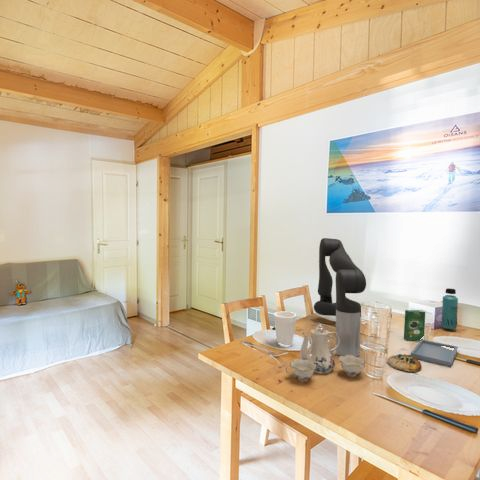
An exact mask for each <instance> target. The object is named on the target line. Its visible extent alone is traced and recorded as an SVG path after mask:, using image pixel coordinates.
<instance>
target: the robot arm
mask: <svg viewBox="0 0 480 480" xmlns="http://www.w3.org/2000/svg"><path fill="white" fill-rule="evenodd" d="M318 250H319V251H318V260H319V261H318V269H319V270H318V274H319V275H318V287H317V294H318V295H319V300H318V301H315V303H314V304H313V311H314V312H315V313H316V314H318V315H321V316H327V317H329V316H330V317H332V316H333V317H335V333H337V334H338V335H339V336H340V339H341V342H340V345H339V347H338V348H337V349H335V350H336V354H335V356H336V355H338V356H346V355H353V356H355V357H360V354H361V321H360V317H361V306H362V305H361V304H360V303H359V302H358V301H355V300H352V299H350V298H349V297H347V296H346V294H361V293H363V292H364V291H365V289H366V288H367V281H366V280H367V279H366V275H365V274H364V272H363V271H362V269H361V268H359V267H358V266H357V265H356V264H355V262H353V260H352V258H351V257H350V255H349V253H348V252H347V251H346V249H345V247H344V244H343V243H342V241H341V240H340V239H337V238H330V237H329V238H328V237H327V238H326V237H324V238H322V239H321V240H320V242H319V247H318ZM326 257H329V259H328V261H329V265H330V267H331V269H332V271H333V272H334V273H336V274H335V302H333V297H332V296H333V295H332V291H333V285H334V284H333V282H334V281H333V277H332V274H331V272H330V269H329V268H328V265H327V261H326ZM390 314H391V319H392V317H393V314H392V313H390ZM337 344H338V336H337V335H336V334H335V347H336V346H337Z"/></svg>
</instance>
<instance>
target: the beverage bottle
mask: <svg viewBox="0 0 480 480" xmlns="http://www.w3.org/2000/svg"><path fill="white" fill-rule="evenodd" d="M444 293H445V294H446V295H444V296H442V308H441V309H442V310H441V320H442V321H441V327H442V328H444V329H450V330H455V329H457V327H458V308H459V306H458V305H459V304H458V303H459V298H458V297H457V296H455V295H456V294H457V293H456V289H455V288H446V289H445V291H444Z"/></svg>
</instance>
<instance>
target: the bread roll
mask: <svg viewBox="0 0 480 480" xmlns="http://www.w3.org/2000/svg"><path fill="white" fill-rule="evenodd" d="M386 361H387V365H388V366H389V367H391V368H393V369H395V370H398V371H402V372H403V371H404V372H408V373H417V372H419V371H421V370H422V363H421V362H422V361H420V360H417V359H416V357H415V356H411V354H405V353H404V354H402V353H399V354H396V355H391V356H389V357H388V358H387V359H386Z"/></svg>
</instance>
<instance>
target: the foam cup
mask: <svg viewBox="0 0 480 480" xmlns="http://www.w3.org/2000/svg"><path fill="white" fill-rule="evenodd" d="M273 321H274V329H275V336H276V337H275V338H276V343H277V342H278V343H281V344H284V345H291V344H292V345H293V341H294V335H295V327H296V322H297V314H296V313H295V312H291V311H283V310H281V311H276V312H274V313H273Z"/></svg>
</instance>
